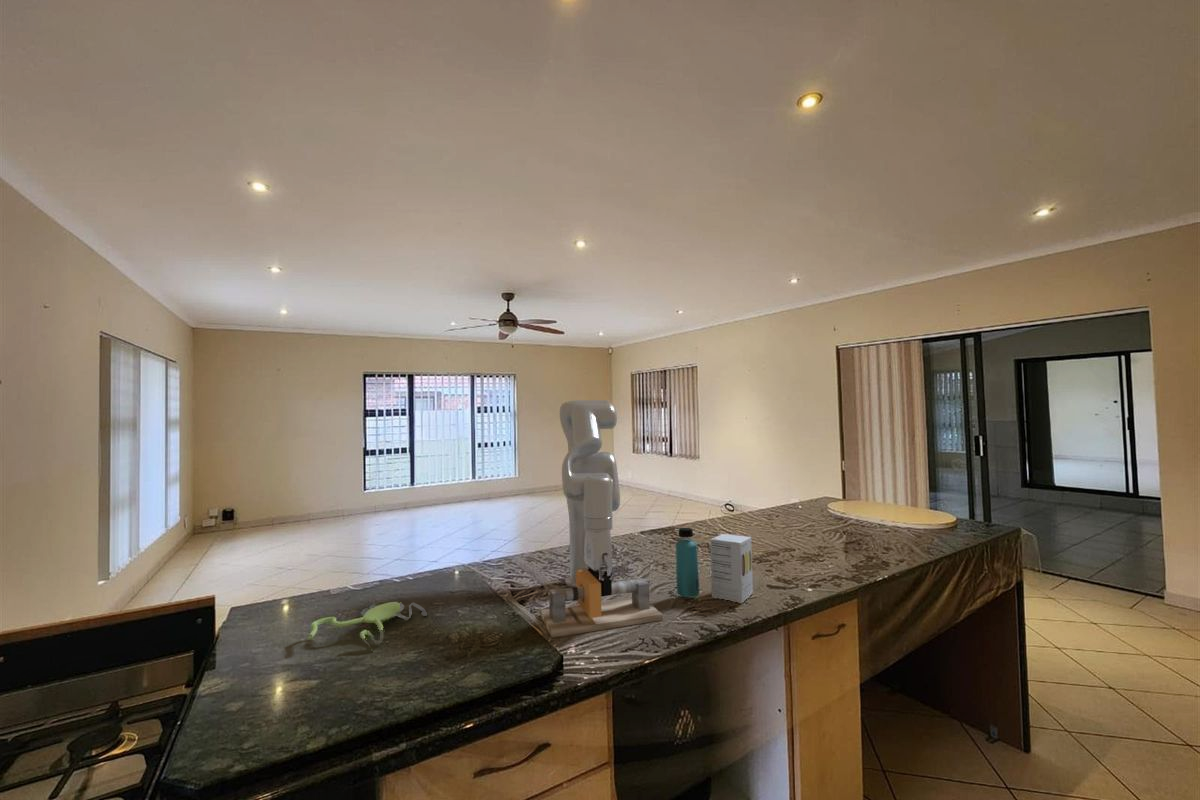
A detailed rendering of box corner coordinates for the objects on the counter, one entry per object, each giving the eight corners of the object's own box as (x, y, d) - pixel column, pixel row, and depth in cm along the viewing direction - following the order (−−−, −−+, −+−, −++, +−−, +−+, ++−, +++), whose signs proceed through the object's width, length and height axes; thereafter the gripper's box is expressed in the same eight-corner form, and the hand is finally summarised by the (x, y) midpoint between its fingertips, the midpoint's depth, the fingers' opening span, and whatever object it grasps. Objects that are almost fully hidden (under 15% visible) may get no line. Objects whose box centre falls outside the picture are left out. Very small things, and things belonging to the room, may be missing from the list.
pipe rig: (540, 615, 122) (540, 582, 123) (640, 601, 131) (640, 570, 132) (551, 637, 109) (551, 600, 109) (662, 620, 118) (661, 585, 118)
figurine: (294, 652, 104) (295, 627, 105) (377, 607, 130) (378, 587, 130) (363, 661, 100) (363, 634, 100) (435, 613, 126) (435, 592, 126)
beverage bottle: (699, 603, 129) (697, 531, 130) (675, 602, 130) (674, 530, 131) (699, 595, 135) (697, 526, 136) (676, 593, 136) (675, 525, 138)
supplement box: (742, 605, 127) (740, 543, 128) (711, 598, 133) (709, 538, 134) (753, 594, 135) (751, 536, 136) (723, 588, 140) (722, 532, 141)
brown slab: (575, 599, 125) (575, 569, 125) (586, 598, 126) (586, 568, 126) (589, 618, 112) (589, 584, 113) (601, 616, 113) (600, 583, 114)
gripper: (575, 518, 128) (576, 580, 127) (595, 531, 112) (596, 602, 111) (601, 516, 131) (601, 577, 130) (623, 528, 114) (624, 598, 113)
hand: (599, 589), depth 120 cm, fingers open, 9 cm apart
